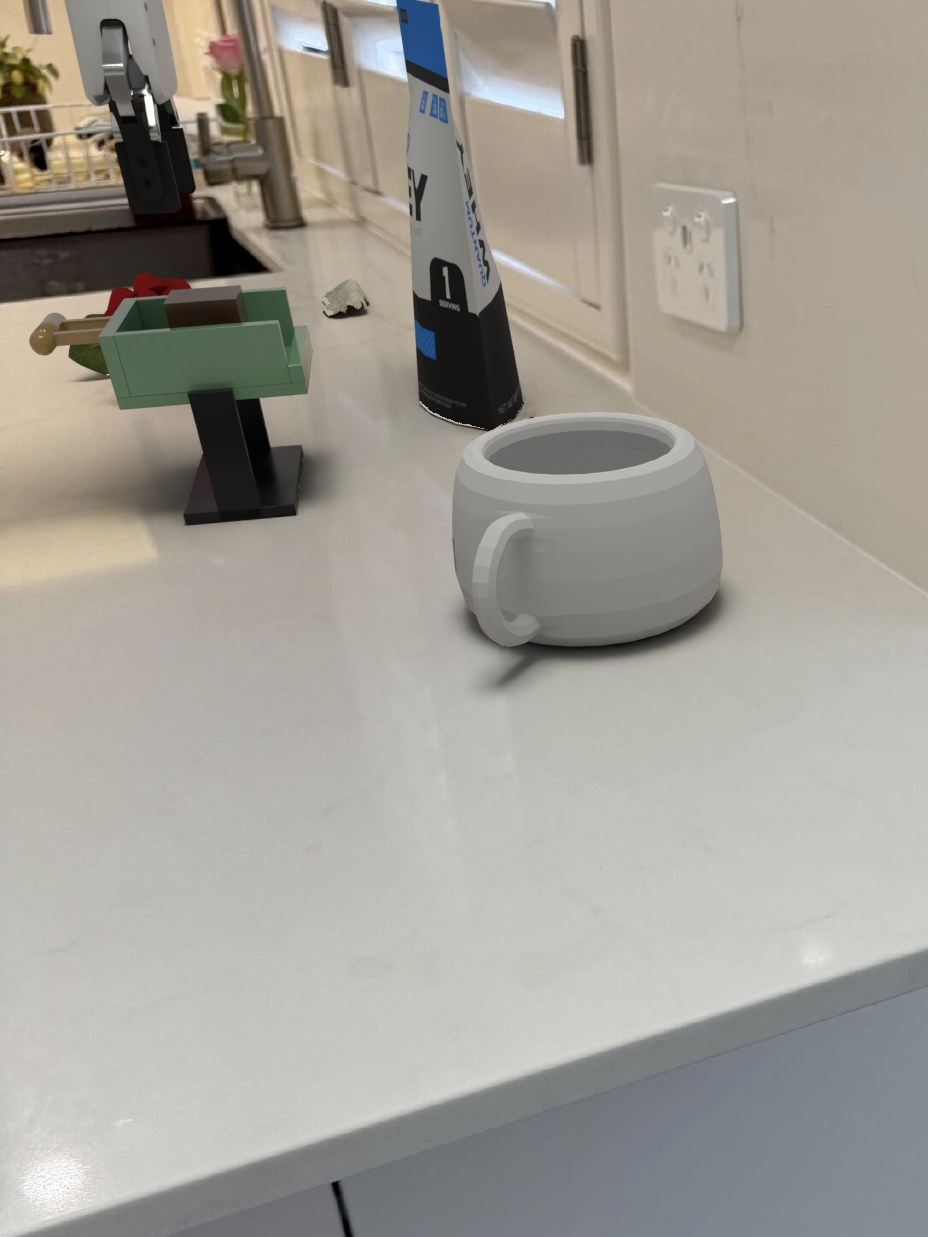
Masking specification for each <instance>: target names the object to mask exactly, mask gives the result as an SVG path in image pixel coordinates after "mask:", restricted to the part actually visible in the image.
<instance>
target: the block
mask: <svg viewBox="0 0 928 1237" xmlns="http://www.w3.org/2000/svg"><path fill="white" fill-rule="evenodd" d="M242 290H243V289H242V285H240V284H237V285H223V286H209V287H195V288H191V289H181V290H171V291H170V293H169V295H168V297H167V298H166V300H165V302H164V304H163V305H164V309H165V313H166V317H167V320H168V324H169V328H181V327H194V326H207V325H220V324H233V323H246V322H249V319H248V314H247V310H246V306H245V302H244V297H243V293H242Z"/></svg>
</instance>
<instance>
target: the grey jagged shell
mask: <svg viewBox="0 0 928 1237" xmlns="http://www.w3.org/2000/svg"><path fill="white" fill-rule="evenodd" d="M323 297H326V299H328V302H330V304H328V305H327V306H326V309H327V310H330V311H334V312H333V313H335V315H336V314H338V313H340V312H342V313H344V314H347V310H348V306H352V307H354V308H355V309H357V310H359V309H361V308H362V305H363V308H364V310H365V311H367V310H368V304H367V302H368V303H369V301H370V300H369V299H368V295H367V293H366V292H365V291H364V290H363V288H362V287H361V285H360V284H359V282H358V281H357V280H355V279H351V278H350V279H349V278H348V279H345V280H344V281H343V280H342V282H340V283H338V284H337V285H336V286H335V287H333V288H332V289H331V290H329V291H326V292H325V295H323V296H322V298H323ZM366 301H367V302H366Z"/></svg>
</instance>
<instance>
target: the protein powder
mask: <svg viewBox="0 0 928 1237" xmlns="http://www.w3.org/2000/svg"><path fill="white" fill-rule="evenodd" d="M395 4H396V10H397V14H398V24H399V30H400V37H401V43H402V52H403V57H404V65H405V72H406V78H407V79H406V80H407V85H408V92H409V98H410V99H409V101H410V102H409V111H408V126H407V139H406V150H405V151H406V152H405V157H406V158H405V159H406V171H407V183H408V184H407V186H408V210H409V233H410V234H409V235H410V236H409V237H410V262H411V291H412V306H413V320H414V321H413V322H414V339H415V355H416V356H415V357H416V373H417V388H418V389H417V390H418V402H419V401H421V402H422V404H424V405H425V406H426V407H428V409H429V410H430V411H432V412H433V413H437V414H439V415H440V416H442V417H445V418H447V419H451V420H453V421H455V422H458V423H459V422H460V423H462V424H470V425H472V426H476V427H480V428H484V429H488V430H494V429H495V428H496V427H498V426H499V425H501V424H504V423H506V422H507V421H508V420H510V419H512V420H514V419H515V418H514V417H515V416H516V414H517V413H518V414H519V412H520V411H521V409H520V407H521V406H522V404H523V403H524V398H523V392H522V388H521V382H520V377H519V376H520V375H519V370H518V366H517V360H516V354H515V348H514V343H513V338H512V332H511V328H510V322H509V317H508V312H507V311H508V310H507V306H506V300H505V294H504V290H503V284H502V279H501V276H500V274H499V270H498V267H497V265H496V261H495V259H494V256H493V253H492V250H491V247H490V244H489V241H488V238H487V235H486V231H485V230H486V229H485V226H484V222H483V217H482V212H481V208H480V204H479V198H478V195H477V189H476V185H475V181H474V177H473V176H474V175H473V172H472V167H471V162H470V159H469V157H468V154H467V151H466V149H465V146H464V143H463V140H462V137H461V136H460V133H459V130H458V127H457V125H456V122H455V119H454V115H453V108H452V106H453V104H452V99H451V98H452V97H451V91H450V82H449V75H448V68H447V59H446V54H445V53H446V52H445V44H444V37H443V31H442V26H441V15H440V8H439V4H438V3H436V2H435V3H434V2H429V1H425V0H395ZM523 405H524V404H523ZM522 407H523V406H522ZM522 407H521V408H522ZM519 410H520V411H519ZM518 411H519V412H518ZM518 414H517V415H518ZM516 417H517V416H516ZM513 418H514V419H513ZM507 423H508V422H507ZM507 423H506V424H507ZM504 425H505V424H504ZM488 430H487V431H488Z"/></svg>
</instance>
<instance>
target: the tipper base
mask: <svg viewBox="0 0 928 1237" xmlns="http://www.w3.org/2000/svg"><path fill="white" fill-rule="evenodd" d="M188 398H189V402H190V404H189V405H190V409H191V414H192V416H193V417H192V418H193V422H194V424H195V428H196V432H197V437H198V439H199V443H200V447H201V451H202V453H201V456H200V458H199V459H200V460H199V462H198V466H197V470H196V472H195V476H194V478H193V482H192V485H191V489H190V491H189V494H188V498H187V501H186V504H185V507H184V510H183V513H182V517H183V520H184V523H185V526H190V525H200V524H201V525H202V524H212V523H223V522H235V521H244V520H254V519H255V520H256V519H265V518H277V517H287V516H296V515H297V514H298V506H299V498H298V494H299V495H300V489H299V486H300V487H301V481H300V477H301V478H302V472H303V463H302V459H303V460H304V455H303V453H304V448H303V445H302V444H291V445H281V446H271V442H270V438H269V433H268V429H267V425H266V420H265V415H264V412H263V408H262V407H263V406H262V403H261V398H255V399H244V400H235V396H234V392H233V388H221V389H208V390H195V391H189V392H188ZM301 469H302V470H301ZM301 471H302V472H301ZM299 484H300V485H299Z"/></svg>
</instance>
